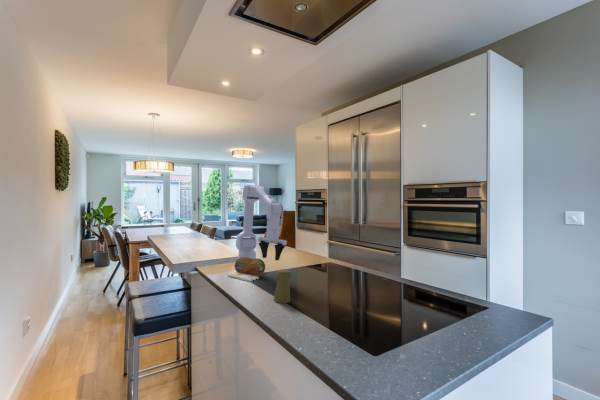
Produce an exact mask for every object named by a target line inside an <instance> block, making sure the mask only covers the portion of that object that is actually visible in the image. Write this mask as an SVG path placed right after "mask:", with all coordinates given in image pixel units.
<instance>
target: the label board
mask: <svg viewBox="0 0 600 400" xmlns="http://www.w3.org/2000/svg"><path fill="white" fill-rule="evenodd" d="M226 276H227V278H228V277H229V278H233V279H237V280H241V281H244V280H245V282H249V283H251V282H253V280H254V281H257V280H259V278H260V276H258V277H257V276H253V275H248V274H244V273H239V272H237V271H235V272H232V273H228V274H227V275H226ZM256 279H257V280H256Z"/></svg>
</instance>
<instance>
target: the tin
mask: <svg viewBox="0 0 600 400" xmlns="http://www.w3.org/2000/svg"><path fill="white" fill-rule="evenodd" d="M234 265H235V266H234V270H235V272H239V273H244V274H248V275H253V276H257V277H260V276H262V275H263V274H264V273H265V271H266V264H265V261H264V260H262V259H261V258H257V257H256V258H248V257H241V258H239V259H238V258H237V259H236V260H235V263H234Z"/></svg>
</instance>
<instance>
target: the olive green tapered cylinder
mask: <svg viewBox="0 0 600 400" xmlns="http://www.w3.org/2000/svg"><path fill="white" fill-rule="evenodd" d="M276 278H277V282H276V288H275V292H274V296H273V301H274V302H275V301H276V302H275V303H277V302H279V303H278V304H288V303H290V302H291V293H290V292H291V290H290V279H291V278H292V273H291V271H290V270H289V269H283V268H282V269H279V270H278V271H277V272H276Z"/></svg>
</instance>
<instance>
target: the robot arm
mask: <svg viewBox="0 0 600 400" xmlns="http://www.w3.org/2000/svg"><path fill="white" fill-rule="evenodd" d="M265 191H266V190H265V186H263V185H252V184H245V185H244V187H243V188H242V200H243V201H244V210H243V211H244V212H243V224H242V225H243V226H242V231H241V232H240V233H238V234H237V237H236V240H235V247H236V249H237V250H238V257H237V259H239V258H241V257H248V258H257V253H256V251H255V249H256V246H257V241H258V246H259V248H260V252H261V255H262V258H263V259H266V258H267V257H268V251H269V250H268V248H269V246H270V244H274V250H275V252H274V253H275V256H274V258H275V259H274V260H275V261H280V258H281V254H282V252H283V250H284V248H285V247H286V246H287V243H288V240H285V239H280V238H279V237H280V223H281V216H282V215H283V212H284V205H283V204H282V203H281V202H277V201H276V200H275V199H274V198H273V197H272V195H271V194H270V195H269V194H268V195H267V193H266V192H265ZM259 200H261V201H260V203H261V205H262V206H263V207H264V209H265V214H266V217H265V218H266V219H267V221H266V234H265V236H264V237H263V236H258V239H257V236H256V234H255V233H254V232H253V227H254V225H253V224H254V208H255V203H256V202H258V201H259ZM233 266H234V267H235V264H234V265H233Z"/></svg>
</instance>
